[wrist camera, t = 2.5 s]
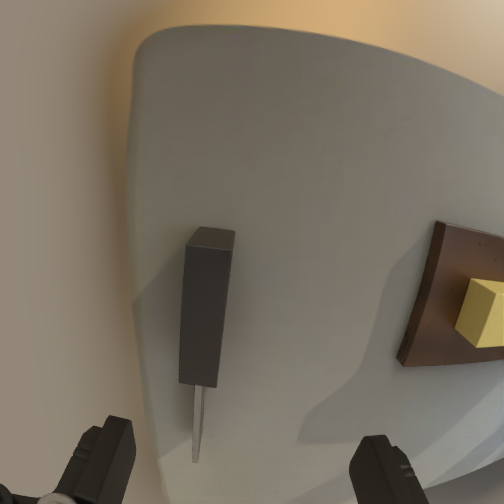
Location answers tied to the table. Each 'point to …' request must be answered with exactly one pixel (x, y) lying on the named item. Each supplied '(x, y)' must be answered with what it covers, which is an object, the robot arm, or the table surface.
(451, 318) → the board
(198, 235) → the knife
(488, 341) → the butter
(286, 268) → the table surface
